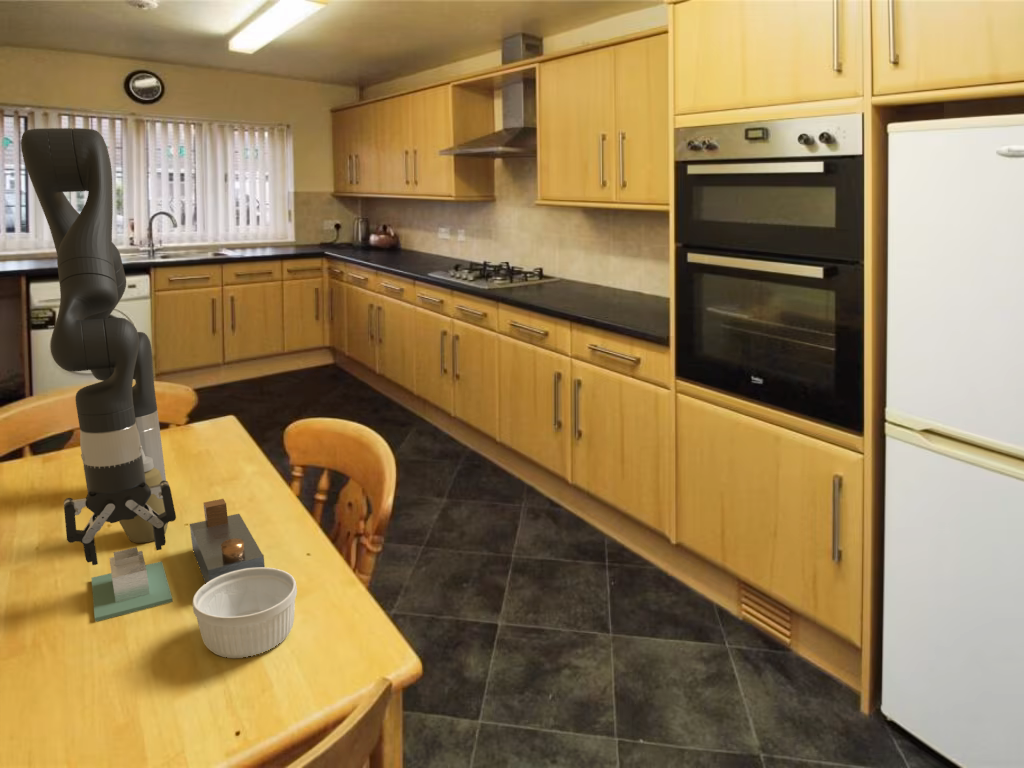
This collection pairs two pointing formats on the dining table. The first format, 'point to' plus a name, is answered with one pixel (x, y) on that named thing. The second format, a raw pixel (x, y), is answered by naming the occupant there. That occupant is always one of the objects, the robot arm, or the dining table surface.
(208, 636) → the ramekin
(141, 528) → the squeeze bottle
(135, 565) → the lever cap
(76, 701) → the dining table surface
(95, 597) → the mat
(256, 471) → the dining table surface
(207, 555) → the plane body
